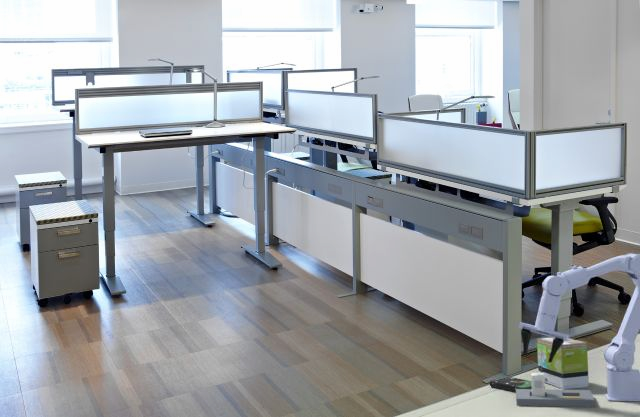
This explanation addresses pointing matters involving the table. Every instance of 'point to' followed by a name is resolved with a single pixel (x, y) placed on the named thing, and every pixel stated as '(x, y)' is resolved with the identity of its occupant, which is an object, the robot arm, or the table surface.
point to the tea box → (564, 363)
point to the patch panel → (556, 398)
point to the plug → (538, 384)
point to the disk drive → (511, 384)
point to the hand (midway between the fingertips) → (537, 358)
